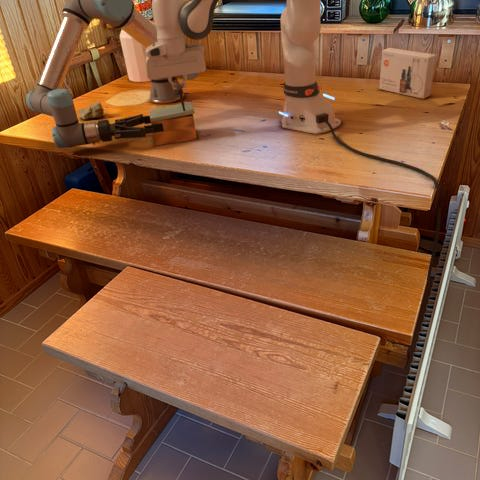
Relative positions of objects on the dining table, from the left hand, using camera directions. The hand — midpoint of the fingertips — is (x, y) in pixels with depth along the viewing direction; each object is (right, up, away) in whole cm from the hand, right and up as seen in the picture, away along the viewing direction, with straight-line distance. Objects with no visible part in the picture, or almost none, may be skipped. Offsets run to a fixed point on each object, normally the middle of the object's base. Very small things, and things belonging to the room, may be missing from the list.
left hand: (162, 122), depth 166 cm
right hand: (+7, +10, -5) cm, 14 cm away
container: (-20, +44, +78) cm, 91 cm away
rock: (-35, +10, +31) cm, 48 cm away
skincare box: (+95, +18, +23) cm, 99 cm away
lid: (+4, +3, -1) cm, 5 cm away
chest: (+4, -4, +4) cm, 7 cm away
